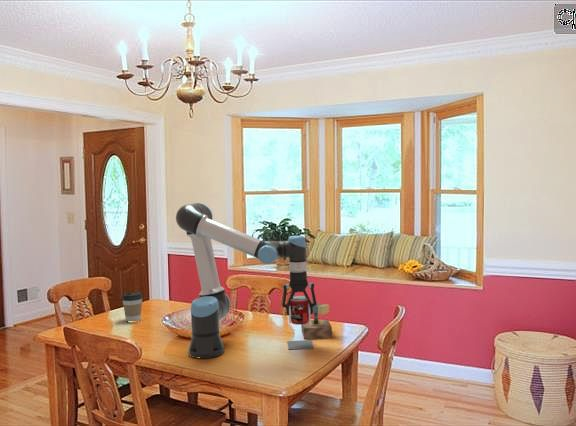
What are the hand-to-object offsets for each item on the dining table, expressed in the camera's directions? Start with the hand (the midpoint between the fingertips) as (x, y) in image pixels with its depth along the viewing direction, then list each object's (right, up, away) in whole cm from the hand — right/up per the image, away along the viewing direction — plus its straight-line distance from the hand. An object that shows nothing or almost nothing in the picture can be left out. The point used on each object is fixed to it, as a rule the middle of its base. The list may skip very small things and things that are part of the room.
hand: (299, 321), depth 223 cm
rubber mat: (0, -11, +1) cm, 11 cm away
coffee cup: (-89, -10, +49) cm, 102 cm away
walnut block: (+8, -9, +16) cm, 20 cm away
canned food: (0, 0, 0) cm, 0 cm away
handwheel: (+8, -4, +16) cm, 18 cm away
